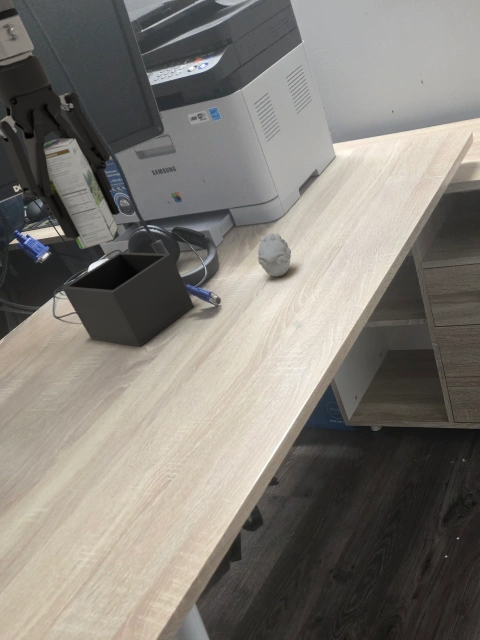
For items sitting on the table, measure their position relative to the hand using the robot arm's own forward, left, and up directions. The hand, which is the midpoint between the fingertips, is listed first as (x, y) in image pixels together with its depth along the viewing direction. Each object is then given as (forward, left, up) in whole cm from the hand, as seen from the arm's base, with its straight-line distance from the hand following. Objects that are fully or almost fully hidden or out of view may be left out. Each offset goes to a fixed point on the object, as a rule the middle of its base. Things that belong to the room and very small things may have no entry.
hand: (93, 224), depth 105 cm
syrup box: (0, 0, -3) cm, 3 cm away
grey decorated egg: (+17, +20, -18) cm, 32 cm away
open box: (0, 0, -18) cm, 18 cm away
